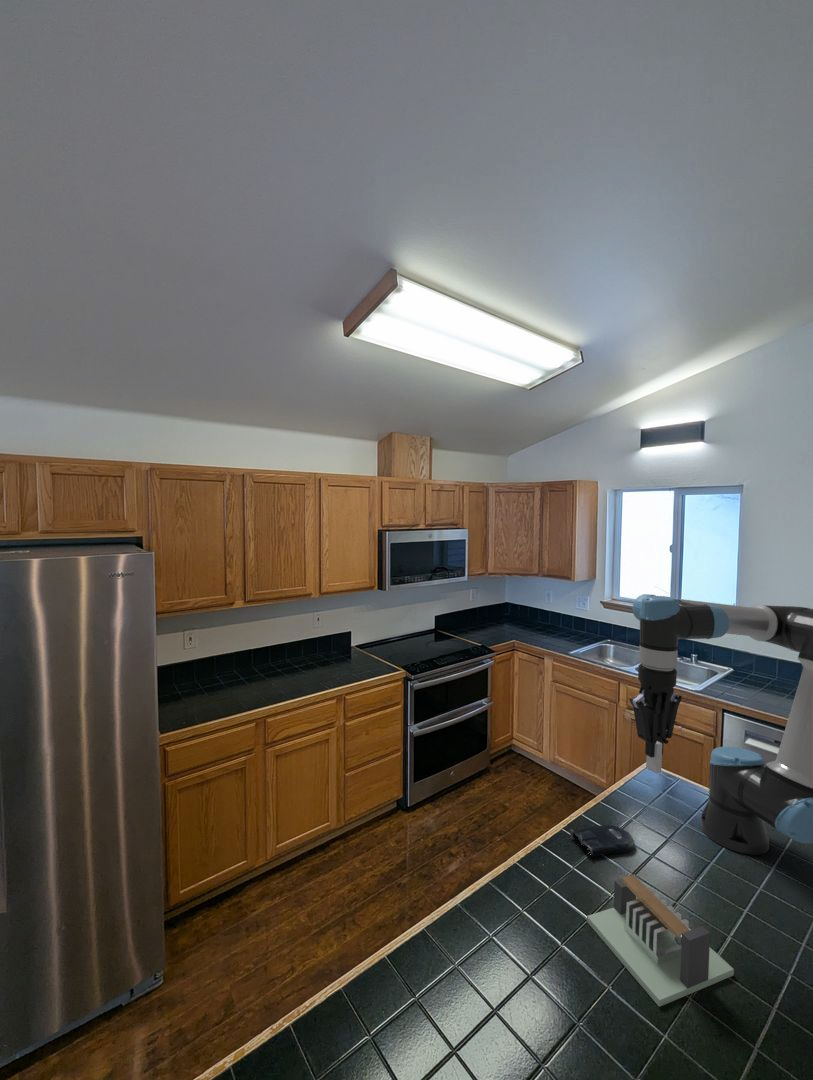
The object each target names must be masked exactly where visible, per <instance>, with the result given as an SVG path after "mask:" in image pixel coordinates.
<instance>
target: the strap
mask: <svg viewBox="0 0 813 1080" xmlns="http://www.w3.org/2000/svg"><path fill="white" fill-rule="evenodd" d="M621 879H622V882H623V883H624V884H625V885H626V886H627V887H628V888H629V889H630V890H631V891H632V892H633V893H634V894H635V895H636V899H639V900H640V901H641V902H642V903H643V904H644V905H645V906H646V907H647V908H648V909H649V910H650V911H651V912H652V913H653V914H654V915H655V916H656V917H657V918H658V919H659V920H660V921H661V922H662V923H663V924H664V925H665V926H666V927H667V929H668V930H669V931H670V932H671V933H672V934H673V935H674V936H675V941H676V943H677V944H678V945H681V944H682V933H684V932H687V931H690V930H689V929H688V928H687V927H686V926H685V925H684V924H683V923H682V922H681V921H680V920H679V919H678V918H677V917H676V916H675V915H674V914H673V913H672V912H671V911H670V910H669V909H668V908H667V907H668V906H667V907H666V906H665V905H664V904H663V903H662V902H661V901H660V900H661V899H660V900H659V899H658V898H657V897H656V896H655V895H654V894H655V893H652V892H653V891H651V890H650V889H649V888H648V887H647V886H646V885H645V884H644V883H643V882H641V881H640V879H638V877H637V876H635V875H634V874H630V875H628V876H625V877H622V878H621Z"/></svg>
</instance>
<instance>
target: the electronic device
mask: <svg viewBox="0 0 813 1080" xmlns="http://www.w3.org/2000/svg"><path fill="white" fill-rule="evenodd" d="M569 834H570V839H571V840H573V841H574V842H575V843H576V844H577V845H578V847H579V848H581V850H582V851H584V852H585V853H586V854H587V853H589V852H591V853H589V854H587V855H588V856H589V857H590V856H591V857H590V858H592V857H599V856H604V855H610V854H614V853H616V854H617V853H618V854H621V853H622V854H623V853H630V852H631V851H633V850H634V848H635V840H634V838H633V837H632V835H631V834H630V832H629V831H627V830H626V829H624V828H621V826H617V825H614V824H601V825H595V826H591V827H585V828H582V829H578V830H577V831H575V829H569ZM579 842H580V843H579ZM581 844H582V845H581ZM583 844H584V845H586V846H583ZM587 846H588V847H589V848H590V849H591V851H590V850H587V848H588V847H587ZM588 851H589V852H588ZM590 854H591V855H590Z"/></svg>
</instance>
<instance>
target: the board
mask: <svg viewBox="0 0 813 1080" xmlns="http://www.w3.org/2000/svg"><path fill="white" fill-rule="evenodd" d="M613 888H614V889H613V907H611V908H608V909H604V910H602V911H599V912H596V913H593V914H589V915H587V916H586V923H587V924H588V925H589V926H590V927H591V929H593V930H594V932H595V933H596V934H597V935H598V936H599V938H600V939H601V940H602V941H603V942H604V943H605V945H606V946H607V947H608V948H609V949H610V950H611V952H612V953H613V954H614V955H615V957H616V958H617V959H618V961H620V963H621V964H622V965H623V966H624V967H625V969H627V971H628V972H629V973H630V975H632V977H633V978H634V979H635V980H636V982H637V983H638V984H639V985H640V986H641V987H642V989H643V990H644V991H645V993H647V995H649V997H650V998H651V999H652V1001H654V1002H655V1005H657V1006H658V1007H659V1008H660V1007H662V1006H665V1005H667V1004H670V1003H672V1002H675V1001H677V1000H679V999H682V998H683V997H686V996H688V995H690V994H693V993H696V992H697V991H700V990H702V989H705V988H707V987H710V986H712V985H715V984H717V983H719V982H721V981H724V980H725V979H729V978H731V977H733V976H734V973H735V970H734V968H733V967H732V966H731V965H730V964H729V963H728V962H727V961H726V960H725V959H723V958H722V956H720V955H719V954H718V953H717V952H716V951H714V949H712V948H711V947H710V946H711V945H710V944H711V932H710V931H709V930H708V929H706V927H705V926H703V925H701V926H698V927H695V928H692V929H691V928H690V927H689V930H690V931H687V932H684V933H682V944H681V956H680V957H678V958H675V959H673V960H670V961H667V962H665V963H662V964H660V965H657V964H656V963H655V962H654V961H653V960H652V959H651V958H650V957H649V956H648V955H647V954H646V952H645V951H644V950H643V949H642V948H641V947H640V946H639V945H638V944H637V943H636V942H635V941H634V939H633V938H632V937H631V936H630V935H629V934H628V933H627V932H626V931H625V930H624V923H625V922H626V906H627V902H630V901H633V900H636V899H637V896H636V895H635V894H634V893H633V892H632V891H631V890H630V889H629V888H628V887H627V886H626V885H625V884H624V883H623V882H622V878H619V879H616V880H614V887H613Z"/></svg>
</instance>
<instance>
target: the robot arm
mask: <svg viewBox="0 0 813 1080" xmlns="http://www.w3.org/2000/svg"><path fill="white" fill-rule="evenodd" d="M632 613H633V616H634V618H635V619H636V620H638V622H639V651H638V653H639V655H638V662H639V663H640V664H638V670H637V671H638V672H637V673H638V674H637V675H638V676H637V678H638V679H637V680H638V681H639V683H640V688H639V690H638V693H639V694H638V695H637V696H636V697H630V698H629V702H630V705H631V706H632V708H633V713H634V714H633V715H634V721H635V727H636V732H637V737H638V738H639V739H641V740H643V741H644V742H645V749H644V750H645V751H644V753H645V755H646V758H645V759H646V762H645V764H646V765H645V768H647V769H648V770H650V771H652V772H654V773H655V774H659V773H662V759H663V755H664V744H665V745H667V744H668V743H669V741H670V740H668V739H671V738H672V737H673V731H674V727H675V723H676V719H677V715H678V714H677V713H678V709H679V705H680V704H681V702H682V700H683V697H682V695H679V694H677V693H676V692H674V690H675V689H674V687H676V686H677V673H678V671H677V669H676V668H678V650H679V640H701V639H703V640H710V639H718V638H722V637H723V636H725V635H726V634H727V635H736V636H737V635H738V636H747V637H750V638H751V639H753V640H754V641H758V642H765V643H768V644H774V645H777V646H779V647H782V648H785V649H788V650H792V651H795V652H798V656H797V660H798V662H799V663H800V664H801V666H802V667H803V668H802V670H801V671H802V672H801V675H800V679H799V681H798V684H797V685H798V686H797V687H796V692H795V694H794V699H793V701H792V704H791V709H790V712H789V715H788V719H787V722H786V725H785V729H784V732H783V735H782V738H781V742H780V745H779V748H778V752H777V755H776V758H775V760H773V761H769V762H765V758H764V756H762V755H761V754H760V753H759V752H758V753H757V752H755V751H753V750H749V749H746V748H741V747H735V746H718V747H716V748H713V750H711V754H710V761H709V783H708V785H709V789H708V791H709V792H708V793H709V794H708V800H707V803H706V805H705V807H704V809H703V811H702V813H701V815H700V829H701V831H702V832H703V833H704V834H705V836H707V837H708V838H709V839H710V840H712V841H713V842H714V843H716V844H718V845H720V846H722V847H723V848H725V849H728V850H731V851H732V852H733V851H734V852H736V853H740V854H743V855H744V854H745V855H752V856H754V855H755V856H759V855H764V854H766V853H767V852H768V851H769V849H770V837H769V833H768V831H767V829H766V825H765V823H767V824H768V825H770V826H771V827H773V829H775V830H776V831H777V832H778V833H780V834H782V835H785V836H786V837H788V838H790V839H791V840H793V841H795V842H797V843H800V844H807V845H808V844H813V608H810V607H804V606H803V607H802V606H793V605H791V606H790V605H789V606H788V605H787V606H786V605H764V604H754V605H751V606H750V607H749V606H741V605H732V604H726V603H715V602H709V601H708V602H707V601H699V600H691V599H684V598H683V599H681V598H676V597H671V596H665V595H656V594H646V593H644V594H641V595H639V596H637V597H636V598H635V600H634V602H633V604H632Z"/></svg>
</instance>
